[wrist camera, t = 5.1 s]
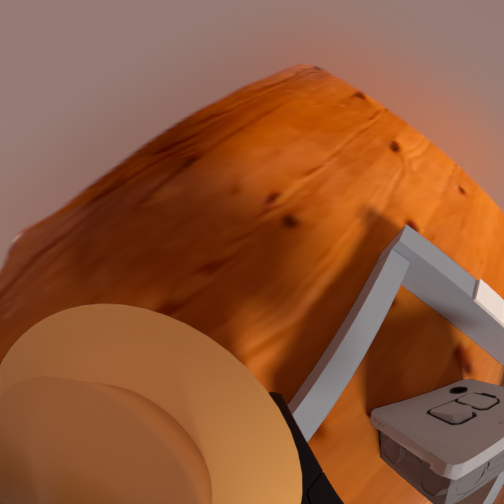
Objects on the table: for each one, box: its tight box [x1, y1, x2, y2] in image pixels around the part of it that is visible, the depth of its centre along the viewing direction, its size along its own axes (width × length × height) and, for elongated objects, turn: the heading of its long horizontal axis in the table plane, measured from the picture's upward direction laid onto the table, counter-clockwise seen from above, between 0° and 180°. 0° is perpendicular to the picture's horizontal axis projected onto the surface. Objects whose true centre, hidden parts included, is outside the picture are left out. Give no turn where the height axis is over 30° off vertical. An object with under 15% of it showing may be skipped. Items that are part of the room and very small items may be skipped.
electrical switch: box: [370, 379, 504, 504], centre depth 11 cm, size 9×5×9 cm, turn 94°
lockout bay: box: [287, 225, 504, 504], centre depth 14 cm, size 15×20×4 cm
